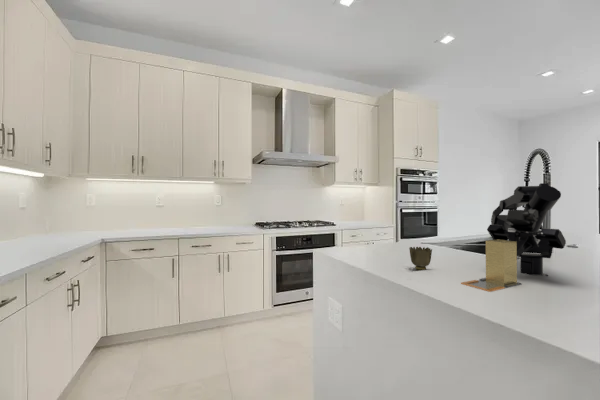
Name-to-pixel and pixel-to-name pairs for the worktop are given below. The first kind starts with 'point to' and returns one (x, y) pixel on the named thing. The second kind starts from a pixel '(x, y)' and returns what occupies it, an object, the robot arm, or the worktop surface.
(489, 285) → the silver flat plate
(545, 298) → the worktop surface
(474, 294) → the worktop surface
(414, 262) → the cup
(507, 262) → the brass block
